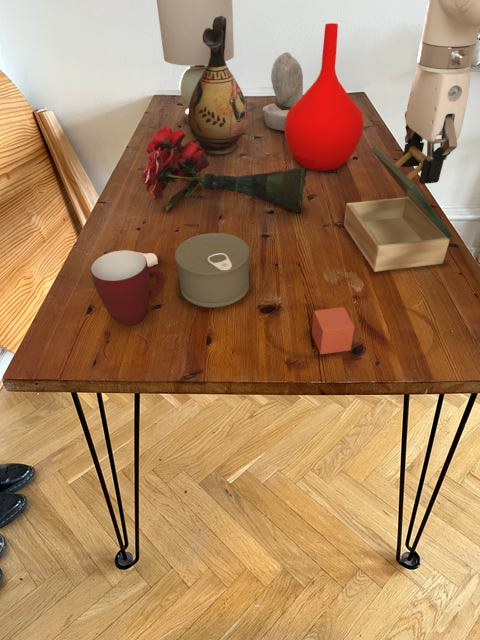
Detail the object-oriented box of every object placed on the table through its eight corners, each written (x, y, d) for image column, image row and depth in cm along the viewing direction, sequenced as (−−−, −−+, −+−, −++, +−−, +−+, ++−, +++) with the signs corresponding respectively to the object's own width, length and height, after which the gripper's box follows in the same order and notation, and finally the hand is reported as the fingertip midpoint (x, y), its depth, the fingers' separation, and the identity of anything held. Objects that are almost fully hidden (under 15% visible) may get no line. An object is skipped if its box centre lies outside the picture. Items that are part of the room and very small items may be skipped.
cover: (410, 188, 74) (440, 163, 72) (370, 148, 86) (395, 126, 84) (448, 239, 81) (477, 217, 79) (407, 195, 94) (430, 176, 92)
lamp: (236, 129, 140) (230, -18, 117) (167, 131, 140) (148, -15, 118) (237, 108, 155) (232, -26, 132) (175, 110, 156) (160, -23, 133)
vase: (268, 163, 120) (269, 25, 101) (317, 144, 129) (327, 14, 110) (323, 186, 109) (336, 36, 90) (373, 163, 118) (395, 22, 99)
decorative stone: (299, 112, 150) (302, 59, 140) (267, 111, 152) (267, 58, 142) (305, 98, 161) (307, 47, 152) (274, 97, 163) (275, 47, 153)
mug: (149, 289, 81) (139, 237, 75) (179, 309, 77) (171, 256, 70) (95, 318, 76) (79, 265, 69) (124, 342, 71) (110, 288, 65)
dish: (257, 122, 144) (256, 105, 141) (297, 114, 148) (298, 97, 145) (280, 137, 134) (280, 119, 131) (322, 128, 138) (324, 110, 135)
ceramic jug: (243, 160, 122) (239, 24, 103) (184, 158, 125) (170, 24, 105) (253, 136, 135) (251, 11, 116) (199, 135, 137) (189, 11, 118)
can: (230, 259, 87) (228, 226, 83) (263, 293, 79) (263, 258, 75) (168, 279, 83) (163, 244, 79) (197, 317, 75) (192, 281, 71)
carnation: (299, 238, 107) (148, 221, 111) (310, 161, 109) (162, 147, 113) (300, 212, 91) (125, 193, 95) (313, 123, 94) (142, 108, 98)
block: (340, 330, 72) (344, 306, 69) (350, 350, 68) (354, 326, 66) (311, 333, 71) (313, 310, 68) (320, 354, 68) (322, 331, 65)
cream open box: (374, 271, 83) (378, 248, 80) (343, 225, 96) (346, 203, 92) (443, 263, 84) (449, 239, 81) (403, 218, 97) (408, 196, 94)
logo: (128, 254, 89) (112, 279, 83) (127, 251, 89) (111, 276, 83) (161, 257, 88) (147, 282, 82) (161, 253, 88) (146, 278, 82)
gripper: (503, 68, 64) (466, 194, 76) (440, 42, 77) (417, 153, 89) (450, 72, 63) (421, 199, 75) (396, 45, 76) (378, 157, 88)
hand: (419, 173), depth 82 cm, fingers closed on cover, 6 cm apart
